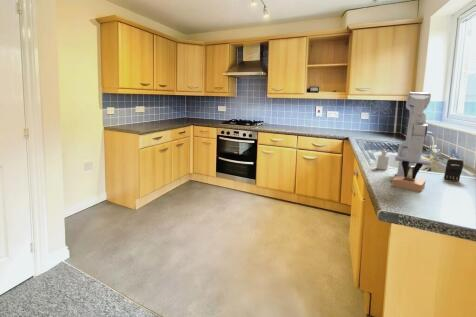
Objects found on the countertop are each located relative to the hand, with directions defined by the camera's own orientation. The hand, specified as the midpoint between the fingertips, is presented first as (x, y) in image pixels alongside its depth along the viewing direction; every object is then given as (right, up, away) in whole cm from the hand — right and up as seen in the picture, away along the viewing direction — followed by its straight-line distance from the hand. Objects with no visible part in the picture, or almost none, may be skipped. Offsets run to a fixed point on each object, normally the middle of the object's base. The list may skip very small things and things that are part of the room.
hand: (409, 177), depth 135 cm
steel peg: (0, -2, +1) cm, 2 cm away
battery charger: (+30, -2, +13) cm, 33 cm away
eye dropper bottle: (+2, +3, +31) cm, 31 cm away
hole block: (0, -4, +1) cm, 4 cm away
